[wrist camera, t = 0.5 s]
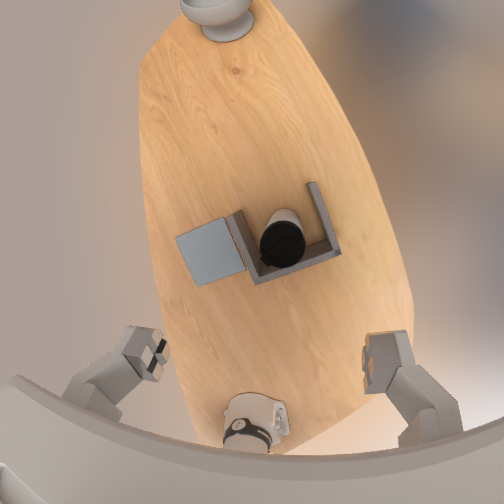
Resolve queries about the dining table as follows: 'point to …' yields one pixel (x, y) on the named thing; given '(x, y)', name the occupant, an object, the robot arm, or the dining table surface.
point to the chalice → (220, 17)
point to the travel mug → (282, 240)
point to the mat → (210, 252)
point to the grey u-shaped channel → (311, 254)
